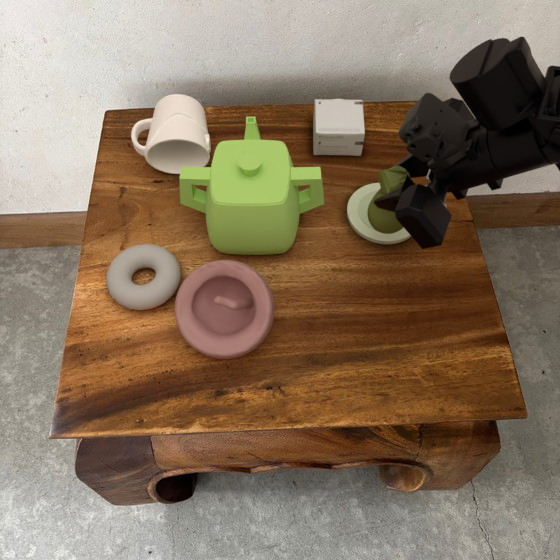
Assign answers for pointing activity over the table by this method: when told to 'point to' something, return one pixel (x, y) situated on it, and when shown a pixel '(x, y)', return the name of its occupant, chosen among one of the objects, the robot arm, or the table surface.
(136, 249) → the donut
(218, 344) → the mortar and pestle
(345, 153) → the small box
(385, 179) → the olive green lumpy piece
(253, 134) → the teapot
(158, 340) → the table surface
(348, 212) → the plate
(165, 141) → the mug
